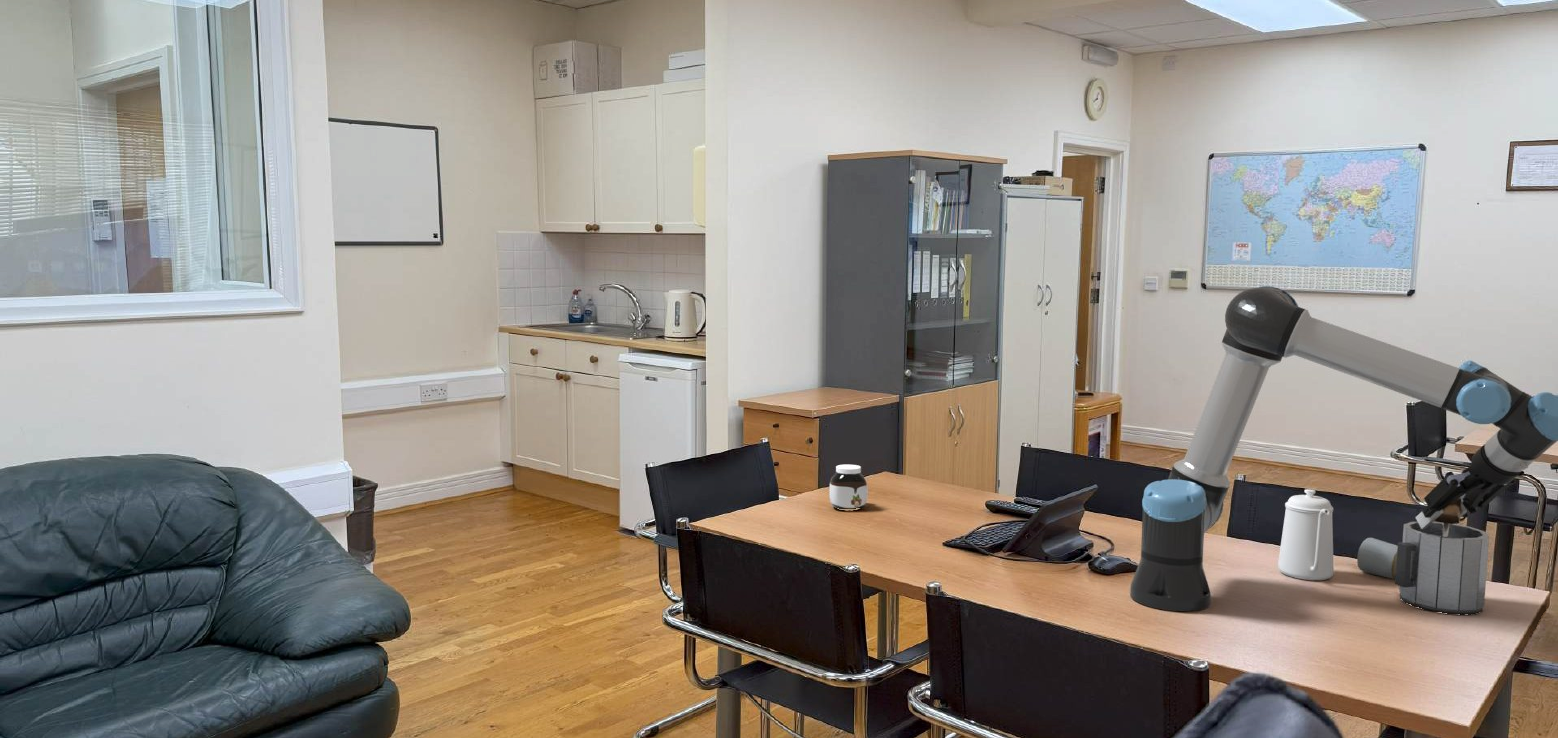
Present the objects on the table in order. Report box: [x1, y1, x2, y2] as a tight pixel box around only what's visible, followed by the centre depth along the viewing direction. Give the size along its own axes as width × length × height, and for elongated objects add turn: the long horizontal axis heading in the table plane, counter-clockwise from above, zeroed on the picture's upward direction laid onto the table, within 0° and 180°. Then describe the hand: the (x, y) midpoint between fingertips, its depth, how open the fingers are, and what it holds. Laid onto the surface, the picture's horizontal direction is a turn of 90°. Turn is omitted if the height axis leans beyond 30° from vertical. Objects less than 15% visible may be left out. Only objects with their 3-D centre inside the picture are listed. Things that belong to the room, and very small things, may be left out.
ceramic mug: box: [1356, 537, 1398, 580], centre depth 230 cm, size 11×8×8 cm
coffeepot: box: [1277, 489, 1335, 582], centre depth 228 cm, size 11×25×19 cm, turn 168°
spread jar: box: [828, 463, 869, 509], centre depth 290 cm, size 12×11×12 cm
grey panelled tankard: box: [1394, 521, 1490, 616], centre depth 210 cm, size 16×14×15 cm
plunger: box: [1433, 496, 1462, 537], centre depth 209 cm, size 10×10×15 cm
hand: (1431, 522), depth 213 cm, fingers closed on plunger, 4 cm apart
